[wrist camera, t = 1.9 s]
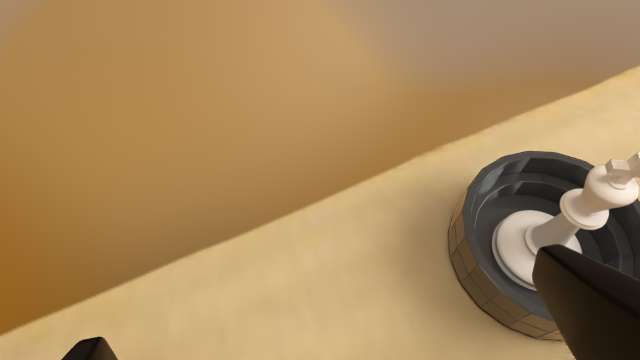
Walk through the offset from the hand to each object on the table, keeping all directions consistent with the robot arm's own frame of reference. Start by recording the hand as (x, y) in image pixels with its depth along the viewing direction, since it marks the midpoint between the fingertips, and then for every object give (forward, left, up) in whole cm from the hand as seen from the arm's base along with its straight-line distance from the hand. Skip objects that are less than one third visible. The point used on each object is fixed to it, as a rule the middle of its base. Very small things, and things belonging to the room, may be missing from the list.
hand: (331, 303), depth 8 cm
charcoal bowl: (-5, -13, -15) cm, 20 cm away
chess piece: (-5, -13, -15) cm, 20 cm away
